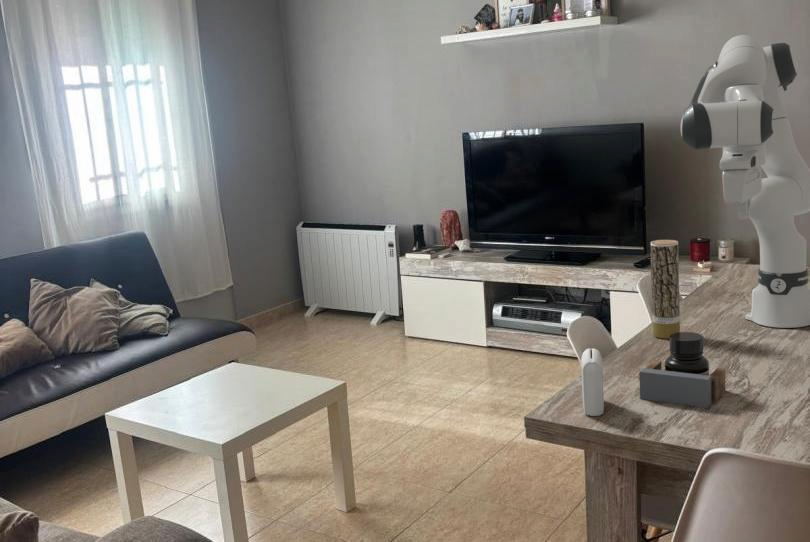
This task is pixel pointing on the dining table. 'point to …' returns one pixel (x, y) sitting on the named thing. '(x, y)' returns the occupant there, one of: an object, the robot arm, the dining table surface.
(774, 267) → the robot arm
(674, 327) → the paper tube
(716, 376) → the cradle
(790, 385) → the dining table surface
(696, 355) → the ink bottle
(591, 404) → the photo printer
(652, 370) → the wall
